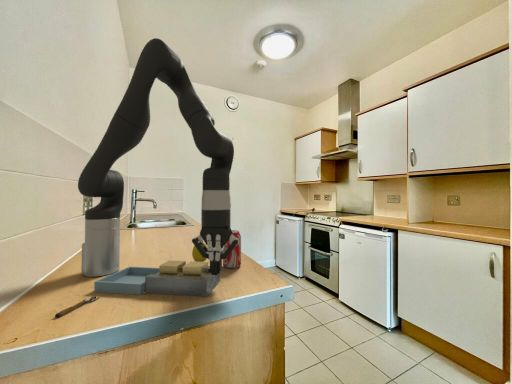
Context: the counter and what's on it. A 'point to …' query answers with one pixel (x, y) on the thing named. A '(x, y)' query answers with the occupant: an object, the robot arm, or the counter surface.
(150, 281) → the slot plate
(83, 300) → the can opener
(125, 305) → the counter surface
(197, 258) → the lemon
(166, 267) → the tan cube
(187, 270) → the yellow block
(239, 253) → the beverage can
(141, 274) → the tray
